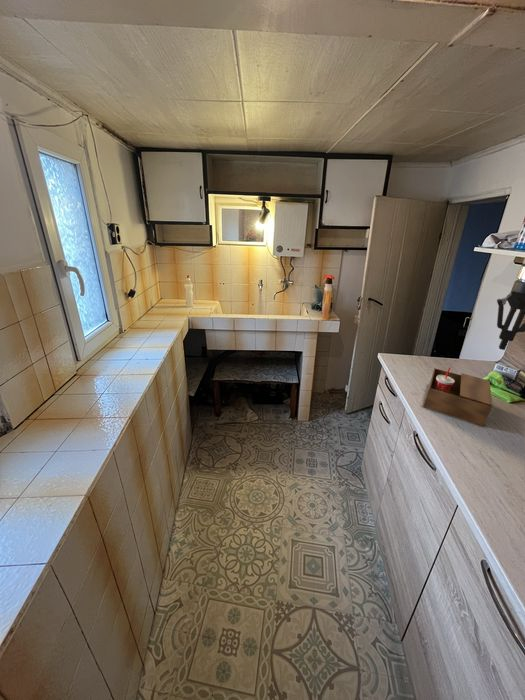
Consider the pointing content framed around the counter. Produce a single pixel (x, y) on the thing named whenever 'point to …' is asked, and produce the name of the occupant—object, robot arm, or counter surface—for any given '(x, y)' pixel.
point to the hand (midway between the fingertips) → (501, 348)
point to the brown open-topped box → (455, 401)
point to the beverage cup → (444, 383)
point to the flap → (475, 389)
